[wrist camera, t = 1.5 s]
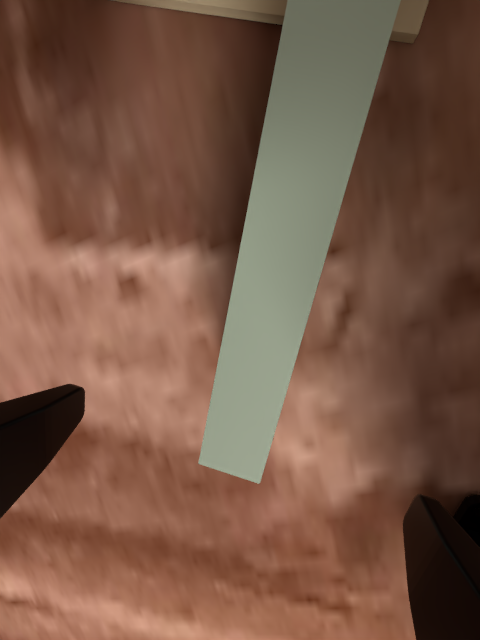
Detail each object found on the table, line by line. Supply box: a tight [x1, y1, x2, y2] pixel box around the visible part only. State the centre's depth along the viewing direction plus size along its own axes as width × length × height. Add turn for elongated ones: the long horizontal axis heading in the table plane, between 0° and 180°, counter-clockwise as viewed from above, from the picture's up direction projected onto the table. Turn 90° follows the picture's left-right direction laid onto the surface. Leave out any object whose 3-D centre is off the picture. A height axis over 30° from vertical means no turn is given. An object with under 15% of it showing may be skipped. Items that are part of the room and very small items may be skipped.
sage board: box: [198, 0, 401, 484], centre depth 11 cm, size 2×12×5 cm, turn 169°
